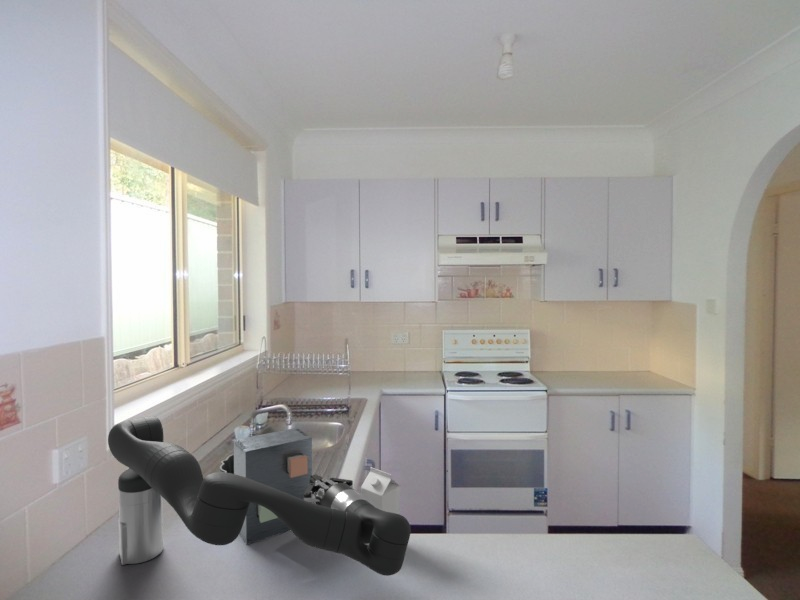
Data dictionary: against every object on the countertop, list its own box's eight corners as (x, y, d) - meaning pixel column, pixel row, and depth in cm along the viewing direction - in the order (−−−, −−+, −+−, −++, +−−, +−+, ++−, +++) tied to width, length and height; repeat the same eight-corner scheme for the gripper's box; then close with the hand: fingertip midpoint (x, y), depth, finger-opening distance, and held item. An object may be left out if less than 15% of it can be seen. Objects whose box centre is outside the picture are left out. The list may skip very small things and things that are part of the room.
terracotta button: (291, 477, 122) (290, 460, 122) (277, 466, 130) (277, 449, 130) (307, 473, 125) (307, 456, 125) (293, 462, 133) (293, 446, 132)
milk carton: (379, 533, 125) (379, 462, 124) (400, 542, 121) (400, 470, 120) (360, 544, 120) (360, 471, 119) (381, 555, 115) (381, 479, 114)
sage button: (260, 522, 118) (260, 504, 118) (249, 507, 126) (248, 491, 125) (278, 517, 121) (278, 499, 121) (266, 503, 128) (265, 486, 128)
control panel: (246, 544, 120) (245, 451, 118) (234, 527, 128) (233, 440, 126) (312, 523, 130) (311, 437, 129) (297, 508, 138) (296, 427, 137)
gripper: (372, 482, 106) (337, 457, 120) (318, 498, 98) (287, 470, 113) (372, 515, 106) (337, 486, 121) (318, 533, 99) (287, 500, 113)
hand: (313, 478), depth 117 cm, fingers closed
